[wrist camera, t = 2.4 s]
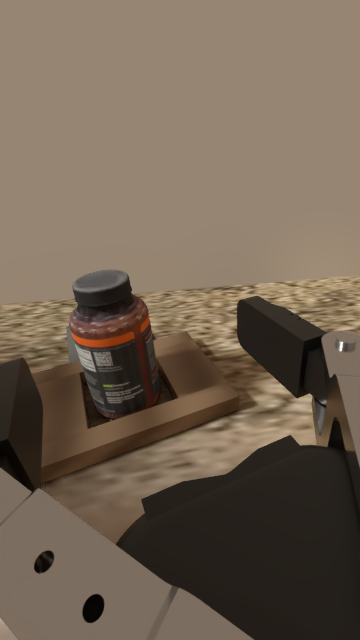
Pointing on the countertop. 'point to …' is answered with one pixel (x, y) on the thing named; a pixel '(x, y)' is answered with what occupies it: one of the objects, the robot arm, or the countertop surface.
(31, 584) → the robot arm
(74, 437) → the walnut holder
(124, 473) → the countertop surface
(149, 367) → the supplement bottle
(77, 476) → the countertop surface
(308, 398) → the countertop surface
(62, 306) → the countertop surface
